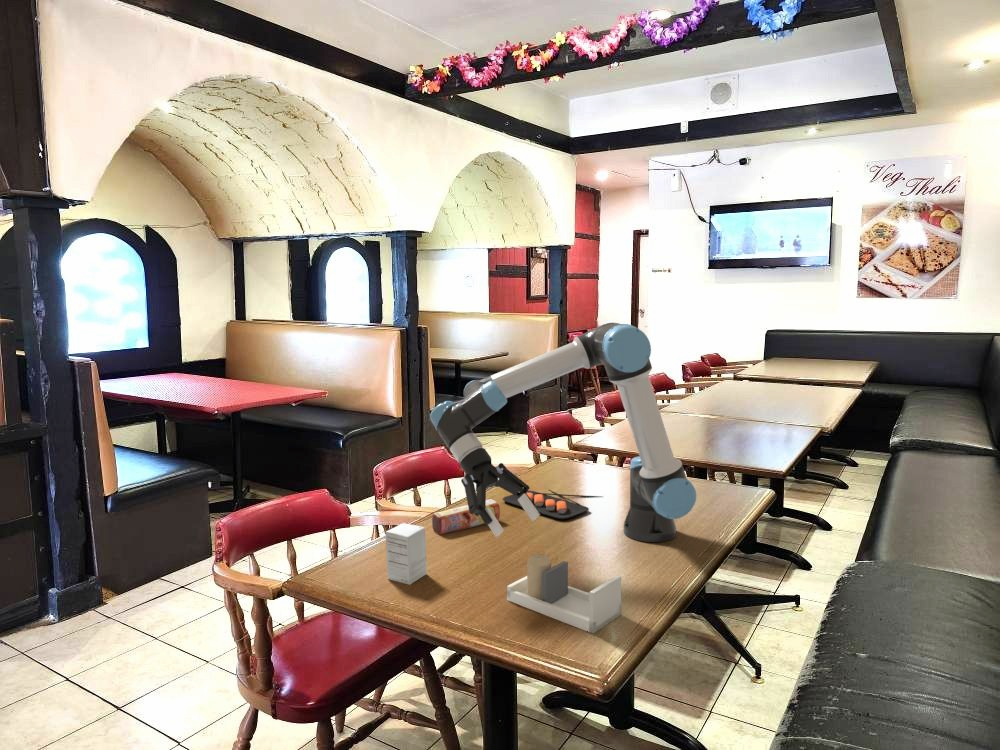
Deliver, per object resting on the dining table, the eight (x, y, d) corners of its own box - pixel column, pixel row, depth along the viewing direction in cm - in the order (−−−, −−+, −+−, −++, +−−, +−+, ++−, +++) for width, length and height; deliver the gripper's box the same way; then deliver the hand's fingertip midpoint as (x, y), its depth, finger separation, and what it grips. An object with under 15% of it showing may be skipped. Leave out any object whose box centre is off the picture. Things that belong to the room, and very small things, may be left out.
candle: (550, 590, 162) (550, 550, 160) (551, 601, 156) (551, 560, 155) (527, 589, 162) (527, 549, 160) (527, 600, 156) (527, 559, 155)
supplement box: (404, 568, 178) (403, 522, 176) (427, 574, 174) (426, 527, 172) (386, 579, 172) (384, 531, 170) (409, 585, 168) (408, 536, 166)
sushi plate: (498, 503, 231) (498, 493, 231) (558, 485, 252) (558, 475, 251) (562, 525, 210) (562, 513, 210) (622, 503, 230) (622, 492, 230)
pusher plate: (563, 592, 160) (563, 561, 159) (567, 593, 159) (567, 562, 158) (542, 604, 154) (542, 572, 153) (546, 606, 153) (546, 573, 152)
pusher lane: (536, 584, 167) (536, 549, 166) (620, 614, 152) (621, 576, 150) (507, 600, 159) (506, 563, 158) (593, 633, 143) (593, 593, 142)
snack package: (440, 537, 200) (440, 515, 199) (430, 530, 206) (430, 509, 205) (501, 523, 212) (501, 502, 211) (490, 517, 217) (489, 496, 216)
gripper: (496, 454, 183) (541, 519, 175) (428, 475, 164) (475, 549, 156) (511, 437, 179) (558, 503, 171) (442, 457, 160) (492, 532, 152)
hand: (518, 525), depth 164 cm, fingers open, 13 cm apart
